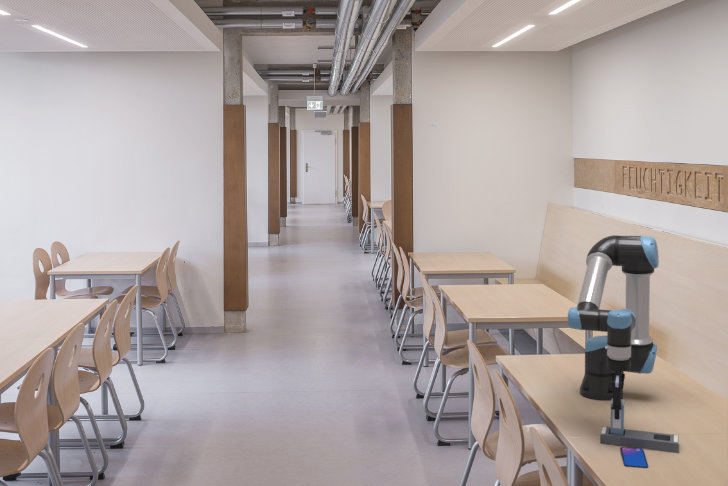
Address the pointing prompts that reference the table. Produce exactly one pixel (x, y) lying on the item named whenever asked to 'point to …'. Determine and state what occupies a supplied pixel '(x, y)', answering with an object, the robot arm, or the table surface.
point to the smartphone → (633, 457)
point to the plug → (621, 431)
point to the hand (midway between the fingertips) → (617, 425)
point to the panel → (641, 439)
